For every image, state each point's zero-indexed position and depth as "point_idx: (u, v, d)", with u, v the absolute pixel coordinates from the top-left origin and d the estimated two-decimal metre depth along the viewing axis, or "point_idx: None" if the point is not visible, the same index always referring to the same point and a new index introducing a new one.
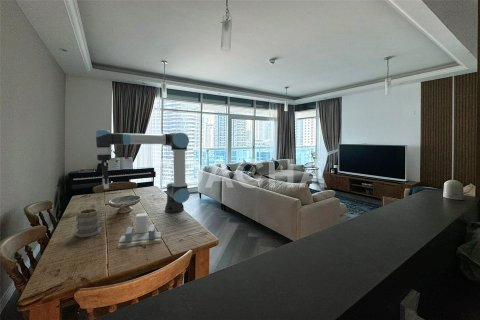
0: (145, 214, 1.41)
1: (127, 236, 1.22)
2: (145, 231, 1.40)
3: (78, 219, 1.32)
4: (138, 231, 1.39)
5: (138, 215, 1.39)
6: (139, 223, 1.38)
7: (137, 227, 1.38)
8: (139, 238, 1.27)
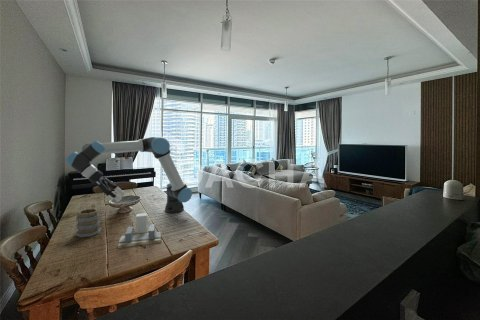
0: (145, 214, 1.41)
1: (127, 236, 1.22)
2: (145, 231, 1.40)
3: (78, 219, 1.32)
4: (138, 231, 1.39)
5: (138, 215, 1.39)
6: (139, 223, 1.38)
7: (137, 227, 1.38)
8: (139, 238, 1.27)
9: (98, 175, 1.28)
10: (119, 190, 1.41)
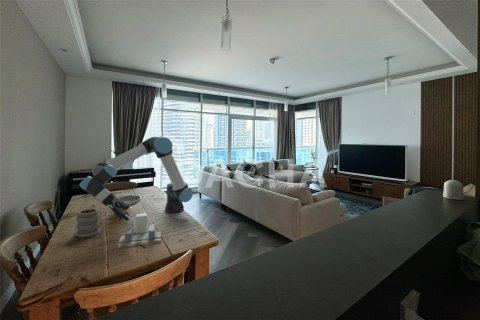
0: (145, 214, 1.41)
1: (127, 236, 1.22)
2: (145, 231, 1.40)
3: (78, 219, 1.32)
4: (138, 231, 1.39)
5: (138, 215, 1.39)
6: (139, 223, 1.38)
7: (137, 227, 1.38)
8: (139, 238, 1.27)
9: (111, 198, 1.31)
10: (131, 211, 1.44)
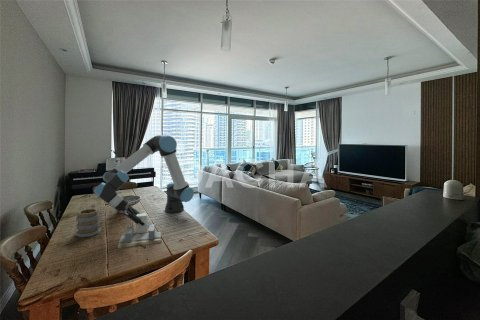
0: (145, 214, 1.41)
1: (127, 236, 1.22)
2: (145, 231, 1.40)
3: (78, 219, 1.32)
4: (138, 231, 1.39)
5: (138, 215, 1.39)
6: None
7: (137, 227, 1.38)
8: (139, 238, 1.27)
9: (124, 204, 1.34)
10: None
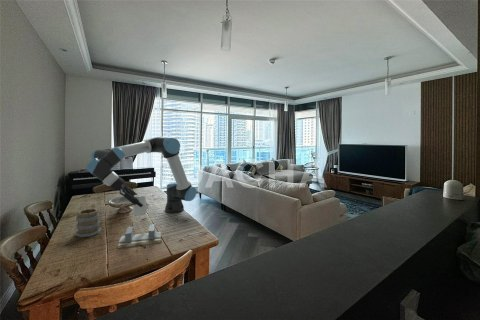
0: (143, 195, 1.28)
1: (127, 236, 1.22)
2: (143, 213, 1.26)
3: (78, 219, 1.32)
4: (136, 213, 1.25)
5: (136, 196, 1.26)
6: None
7: (134, 209, 1.24)
8: (139, 238, 1.27)
9: (120, 183, 1.20)
10: None
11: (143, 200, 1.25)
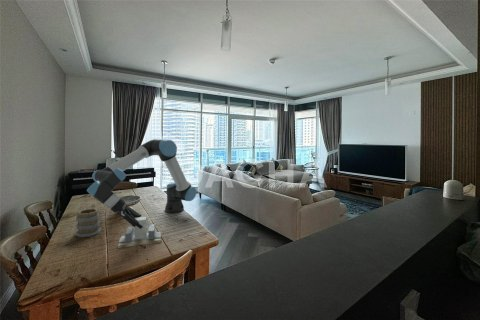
0: (144, 218, 1.29)
1: (127, 236, 1.22)
2: (144, 237, 1.27)
3: (78, 219, 1.32)
4: (136, 237, 1.26)
5: (136, 219, 1.27)
6: (137, 228, 1.26)
7: (135, 232, 1.26)
8: None
9: (121, 205, 1.21)
10: None
11: (144, 223, 1.27)
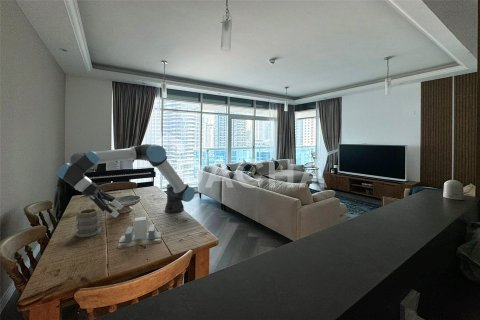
0: (144, 218, 1.29)
1: (127, 236, 1.22)
2: (144, 237, 1.27)
3: (78, 219, 1.32)
4: (136, 237, 1.26)
5: (136, 219, 1.27)
6: (137, 228, 1.26)
7: (135, 232, 1.26)
8: None
9: (93, 188, 1.16)
10: (116, 203, 1.29)
11: (144, 223, 1.27)
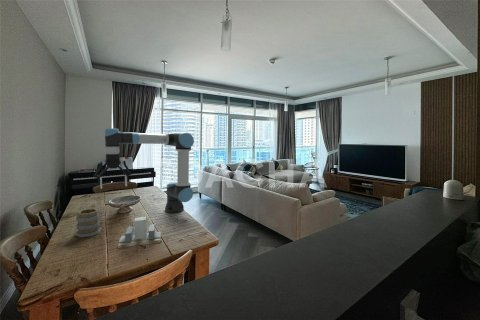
0: (144, 218, 1.29)
1: (127, 236, 1.22)
2: (144, 237, 1.27)
3: (78, 219, 1.32)
4: (136, 237, 1.26)
5: (136, 219, 1.27)
6: (137, 228, 1.26)
7: (135, 232, 1.26)
8: None
9: (107, 158, 1.33)
10: (125, 180, 1.41)
11: (144, 223, 1.27)
